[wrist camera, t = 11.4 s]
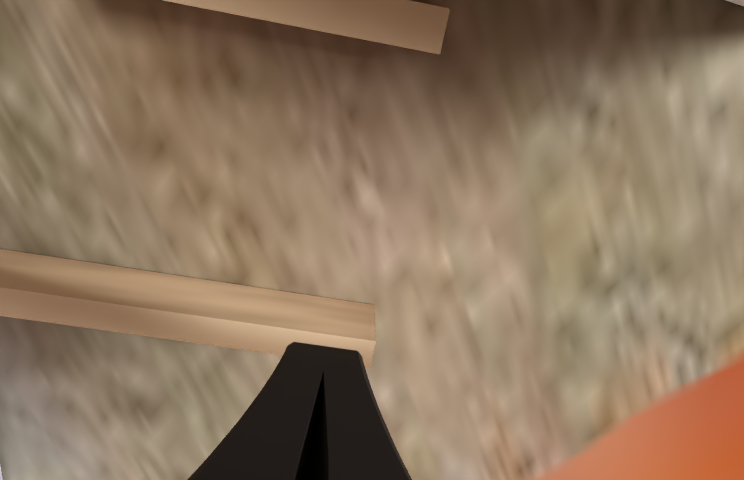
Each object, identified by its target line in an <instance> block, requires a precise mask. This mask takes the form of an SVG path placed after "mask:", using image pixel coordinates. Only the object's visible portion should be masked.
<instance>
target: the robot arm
mask: <svg viewBox="0 0 744 480" xmlns="http://www.w3.org/2000/svg"><path fill="white" fill-rule="evenodd" d="M0 480H3V478H2V472H1V466H0ZM188 480H412V479H411V477H410V475H409V473H408V471H407V469H406V467H405V465H404V463H403V461H402V459H401V457H400V455H399V453H398V451H397V449H396V447H395V445H394V442H393V440H392V438H391V436H390V433H389V431H388V429H387V426H386V424H385V422H384V420H383V417H382V415H381V412H380V410H379V407H378V405H377V402H376V400H375V397H374V394H373V391H372V389H371V386H370V383H369V380H368V377H367V373H366V370H365V366H364V362H363V358H362V356H361V354H360V353H359V352H358V351H356V350H349V349H342V348H335V347H328V346H321V345H314V344H307V343H300V342H293V343H291V344H289V345H288V346H287V347H286V350H285V352H284V354H283V356H282V358H281V360H280V362H279V364H278V365H277V367H276V369H275V370H274V372H273V374H272V375H271V377H270V378H269V380H268V381H267V383H266V384H265V386H264V387H263V389H262V390H261V391H260V393H259V394H258V396H257V397H256V398H255V400H254V401H253V402H252V404H251V405H250V406H249V408H248V409H247V411H246V412H245V413H244V415H243V416H242V417H241V418H240V420H239V421H238V422H237V424H236V425H235V426H234V427H233V428H232V430H231V431H230V432H229V433H228V434H227V435H226V437H225V438H224V439H223V440H222V441H221V443H220V444H219V445H218V446H217V447H216V449H215V450H214V451H213V452H212V453H211V454H210V456H209V457H208V458H207V459H206V460H205V461H204V462H203V464H202V465H201V466H200V467H199V468H198V469H197V470H196V471H195V472H194V473H193V474H192V475H191V477H190V478H189V479H188Z"/></svg>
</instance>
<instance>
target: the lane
mask: <svg viewBox="0 0 744 480" xmlns="http://www.w3.org/2000/svg"><path fill="white" fill-rule="evenodd" d="M164 1H169V2H174V3H179V4H184V5H189V6H194V7H199V8H204V9H210V10H215V11H220V12H225V13H230V14H235V15H240V16H245V17H250V18H256V19H261V20H266V21H271V22H276V23H281V24H286V25H291V26H296V27H302V28H307V29H312V30H317V31H322V32H327V33H332V34H337V35H342V36H348V37H353V38H358V39H363V40H368V41H373V42H378V43H383V44H388V45H394V46H399V47H404V48H409V49H414V50H419V51H424V52H429V53H434V54H440V52H441V48H442V43H443V39H444V34H445V30H446V25H447V21H448V17H449V12H450V8H445V7H440V6H435V5H430V4H425V3H420V2H415V1H410V0H164ZM0 316H4V317H11V318H19V319H26V320H33V321H40V322H47V323H55V324H62V325H69V326H76V327H83V328H91V329H98V330H105V331H112V332H119V333H127V334H134V335H141V336H148V337H155V338H163V339H170V340H177V341H184V342H191V343H199V344H206V345H213V346H220V347H227V348H235V349H242V350H249V351H256V352H263V353H271V354H278V355H283V354H284V352H285V350H286V347H287V346H288V345H289V344H291V343H293V342H300V343H307V344H314V345H321V346H328V347H335V348H342V349H349V350H356V351H358V352H359V353H360V354H361V356H362V358H363V362H364V366H365V367H370V365H371V361H372V356H373V352H374V348H375V343H376V329H375V305H371V304H365V303H358V302H351V301H345V300H338V299H331V298H325V297H318V296H311V295H305V294H298V293H291V292H285V291H278V290H271V289H265V288H258V287H251V286H245V285H238V284H231V283H225V282H218V281H211V280H205V279H198V278H191V277H185V276H178V275H171V274H164V273H158V272H151V271H144V270H138V269H131V268H124V267H118V266H111V265H104V264H98V263H91V262H84V261H78V260H71V259H64V258H58V257H51V256H44V255H38V254H31V253H24V252H18V251H11V250H4V249H0Z"/></svg>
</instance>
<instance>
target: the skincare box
mask: <svg viewBox="0 0 744 480" xmlns="http://www.w3.org/2000/svg"><path fill="white" fill-rule="evenodd" d="M726 1H729V2H732V3H735V4H738V5H741V6H744V0H726Z"/></svg>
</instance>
